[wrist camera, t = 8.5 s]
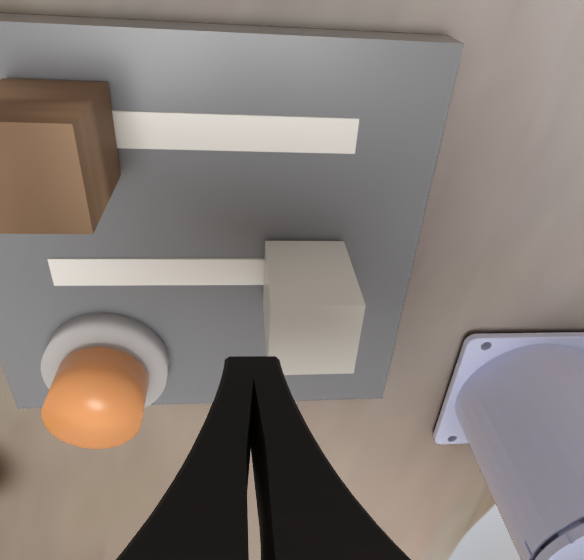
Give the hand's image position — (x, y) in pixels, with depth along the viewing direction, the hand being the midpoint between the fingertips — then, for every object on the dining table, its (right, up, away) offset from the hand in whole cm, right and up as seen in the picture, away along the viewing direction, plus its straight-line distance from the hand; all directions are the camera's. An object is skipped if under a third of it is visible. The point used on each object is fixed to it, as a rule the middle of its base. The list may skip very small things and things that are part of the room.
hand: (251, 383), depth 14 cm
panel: (-3, +4, +7) cm, 9 cm away
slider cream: (+1, +3, +6) cm, 7 cm away
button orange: (-7, -1, +7) cm, 10 cm away
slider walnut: (-6, +8, +2) cm, 10 cm away
